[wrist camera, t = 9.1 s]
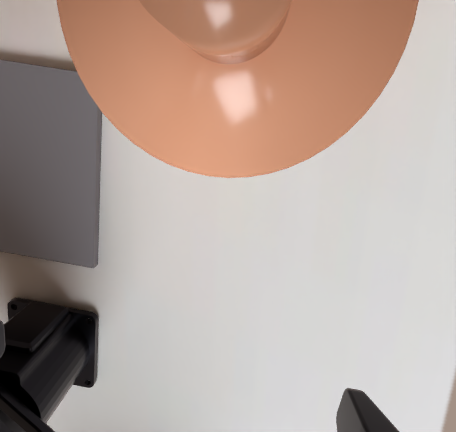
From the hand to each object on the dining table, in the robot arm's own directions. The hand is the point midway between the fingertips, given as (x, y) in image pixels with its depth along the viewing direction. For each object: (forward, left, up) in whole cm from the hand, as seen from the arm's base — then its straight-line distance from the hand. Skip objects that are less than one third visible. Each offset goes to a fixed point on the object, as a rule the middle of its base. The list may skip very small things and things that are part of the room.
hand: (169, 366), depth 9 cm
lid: (+9, 0, -3) cm, 10 cm away
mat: (+1, +14, -13) cm, 19 cm away
